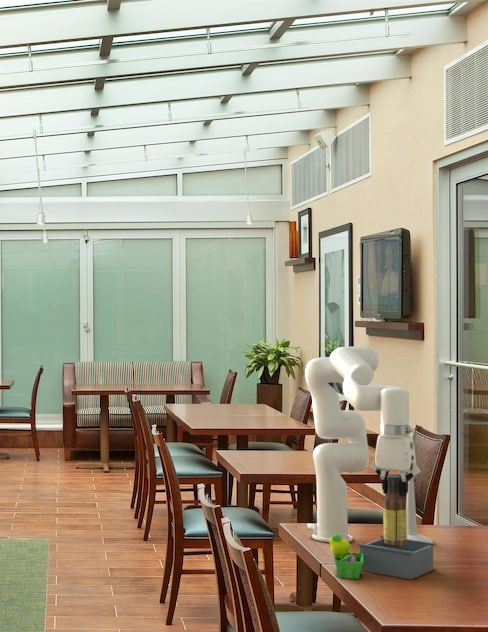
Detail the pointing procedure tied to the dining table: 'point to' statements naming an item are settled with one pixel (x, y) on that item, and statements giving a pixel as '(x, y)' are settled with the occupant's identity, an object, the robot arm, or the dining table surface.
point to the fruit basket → (345, 558)
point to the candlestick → (413, 515)
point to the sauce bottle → (394, 513)
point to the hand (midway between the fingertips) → (395, 493)
